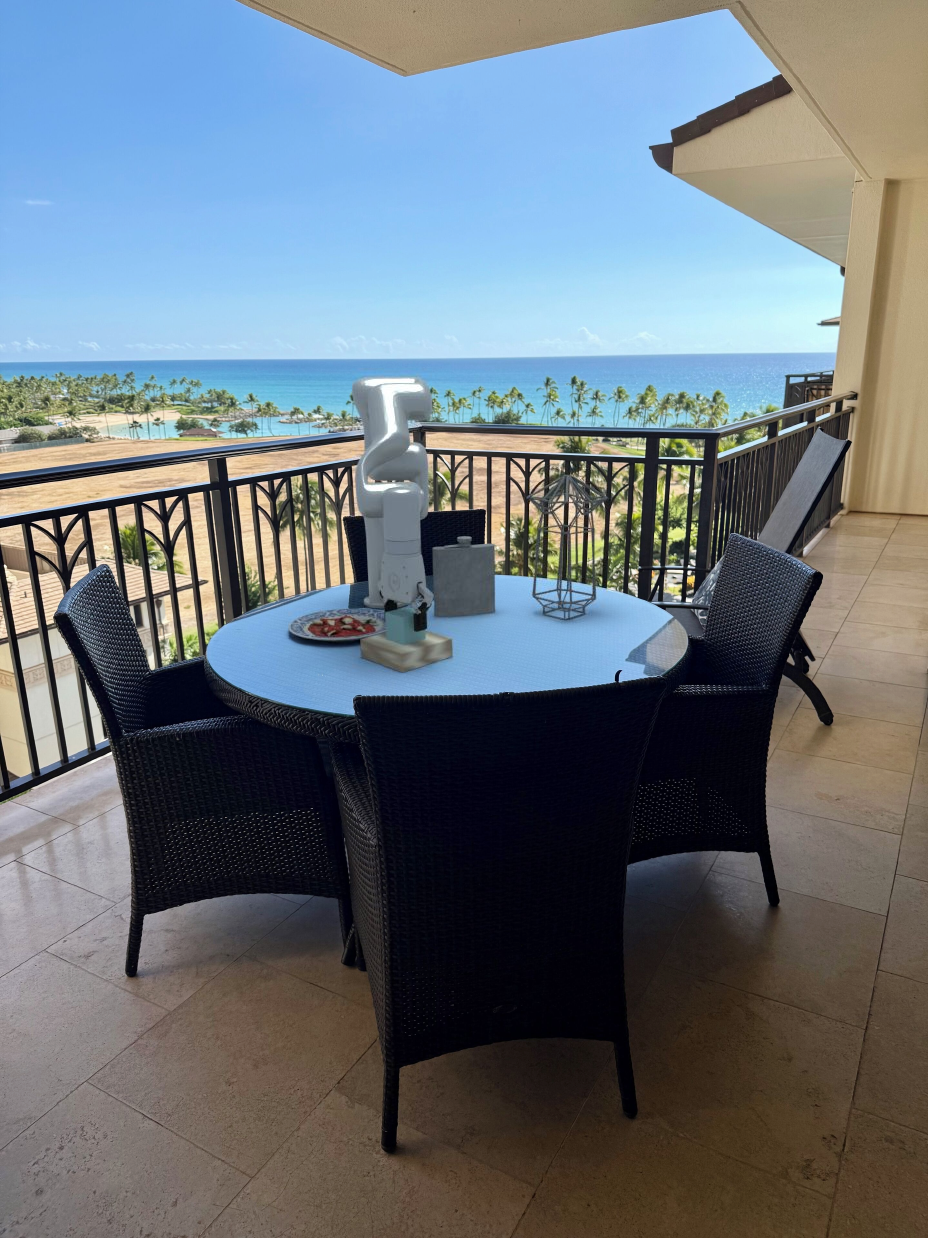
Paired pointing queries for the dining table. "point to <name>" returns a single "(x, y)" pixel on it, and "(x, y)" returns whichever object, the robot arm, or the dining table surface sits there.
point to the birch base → (406, 651)
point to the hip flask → (464, 579)
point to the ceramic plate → (339, 625)
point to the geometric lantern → (577, 489)
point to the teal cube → (402, 626)
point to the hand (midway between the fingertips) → (405, 625)
